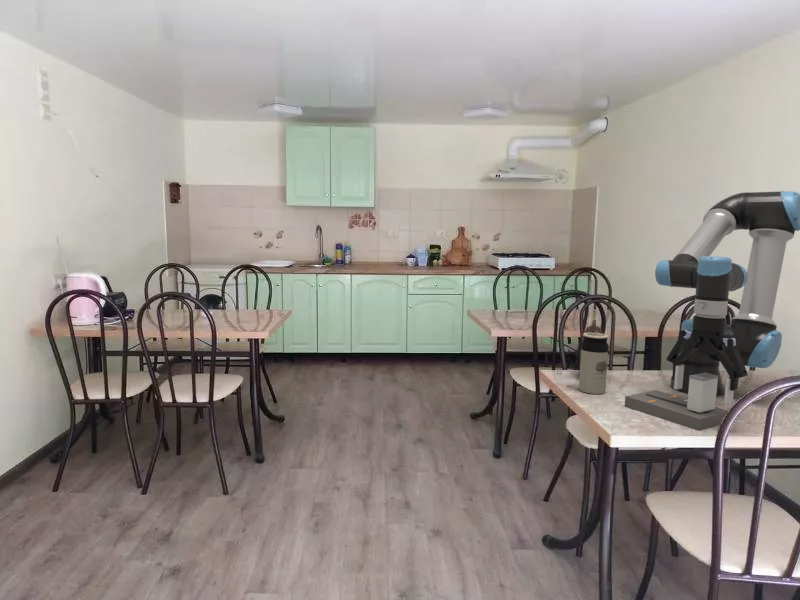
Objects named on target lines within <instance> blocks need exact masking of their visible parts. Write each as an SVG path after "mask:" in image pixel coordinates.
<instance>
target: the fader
mask: <svg viewBox="0 0 800 600" xmlns="http://www.w3.org/2000/svg"><path fill="white" fill-rule="evenodd" d="M689 378H690V380H689V391H688V393H687V399H688V401H687V409H689V410H692V411H696V412H699V413H700V412H704V411H708V410H712V409H715V407H716V401H717V395H716V392H717V382H718V375H713V374H709V373H700V374H695V375H690V376H689Z"/></svg>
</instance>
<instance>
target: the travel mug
mask: <svg viewBox="0 0 800 600" xmlns="http://www.w3.org/2000/svg"><path fill="white" fill-rule="evenodd" d="M583 336H584V341H583V343H582V346H581V345H580V348H581V361H580V360H579V378H578V379H579V380H578V390H579V391H581V392H583V393H584V394H585V393H586V394H589V393H590V395H600V394H601V395H602V394H604V393H606V390H607V389H606V388H607V373H608V363H609V362H608V360H609V347H610V346H609V345H608V342H607V341H608V338H609V335H608V334H606V333H602V334H601V333H585V332H584V333H583Z"/></svg>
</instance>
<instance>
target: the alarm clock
mask: <svg viewBox="0 0 800 600" xmlns="http://www.w3.org/2000/svg"><path fill="white" fill-rule="evenodd" d="M584 333H601V334H603V329H601V327H600V326H597V319H592V323H591V325H589V326H587V327H585V331H584ZM583 341H584V336H583V337H582V340H581V343H580V348H579V362H580V361H581V346H582V343H583Z"/></svg>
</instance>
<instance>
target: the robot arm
mask: <svg viewBox="0 0 800 600" xmlns="http://www.w3.org/2000/svg"><path fill="white" fill-rule="evenodd" d="M738 230H747V231H748V235H749V236H750V238H752V243H751V250H750V254H749V259H748V264H747V270H746V268H744V267H743V266H742V265H741V264H738V263H735V262H732V261H733V260H732V258H730V257H727V256H712V254H713V252H714V251H715V250H716V249H717V247H718V246H719V245H720V243H721V242H722V241H723V239H725V237H726V236H729V235H730V234H732V233H733V232H734V231H738ZM798 231H800V193H799V192H797V191H792V190H791V191H787V190H786V191H784V190H781V191H759V192H757V191H756V192H755V191H754V192H749V191H748V192H740V193H736V194H732V195H730V196H728V197H726V198H724V199H721V200H720V201H719V202H717V203H715V205H713V206H711V207H710V208H709V209H708V210H707V212H706V213H705V214H704V216H703V217H702V223H701V224H700V225H699V227H698V228H697V229H696V230H695V231H694V233H693V234H692V236H690V238H689V239H688V240H687V242H685V244H684V245H683V246H682V248H681V249H680V250H679V251H678V253H676V255H675V257H673V259H672V260H671V259H663V260H660V261H659V262H658V263H657V264H656V266H655V267H656V268H655V272H654V275H655V281H656V283H657V284H658V285H660V286H664V287H665V286H666V287H671V288H684V289H685V288H686V289H687V288H688V289H695V296H694V306H693V307H694V308H693V313H694V315H693V318H688V319H685V320H684V321H683V322H682V323H681V327H680V328H681V329H680V332H679V337H678V339H677V341H676V342H675V344H674V345H673V347H672V349H671V351H670V352H669V354H668V355H667V357H666V361H667V362H670V363H672V373H671V374H672V375H671V377H670V384H669V386H670V387H671V388H672V389H674V390H676V391H679V392H681V393H687V394H688V391H689V380H690V378H689V376H690V375H695V374H700V373H709V374H713V375H718V382H717V392H716V396H719V395H720V396H721V395H722V394H723V393H724V399H723V403H724V404H729V403H733V402H734V394H735V391H738V387H739V379H740V378H745V377H748V374H749V373H748V371H747V368H746V366H747V367H749V368H756V369H759V368H760V369H767V368H769V367H771V366H772V365H773V363H774V362H775V361H776V359H777V357H778V355H779V353H780V350H781V347H782V339H783V335H782V333H781V332H780V331H779V330H777V325H778V324H776V323H775V322H774V320H773V315H774V310H775V304H776V299H777V293H778V288H779V283H780V279H781V272H782V267H783V263H784V257H785V252H786V246H787V243H788V242H789V241H790V240H792V239H793V238H795V237H794V236H795V234H796V233H795V232H798ZM742 288H743V290H742V295H741V300H740V305H739V310H738V311H739V312H738V314H737V315H735V316H733V317H732V318H731V321H730V324H727V318H726V316H727V315H728V303H729V293H730V292H734V291H735V292H736V291H737V290H739V289H742ZM720 364H721V365H722V367H723V368H724V369H725V372H726V373H727V374H728V377H725V378H726V379H725V387H724V383H723V379H722V375H721V372H720ZM724 388H725V390H724Z"/></svg>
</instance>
